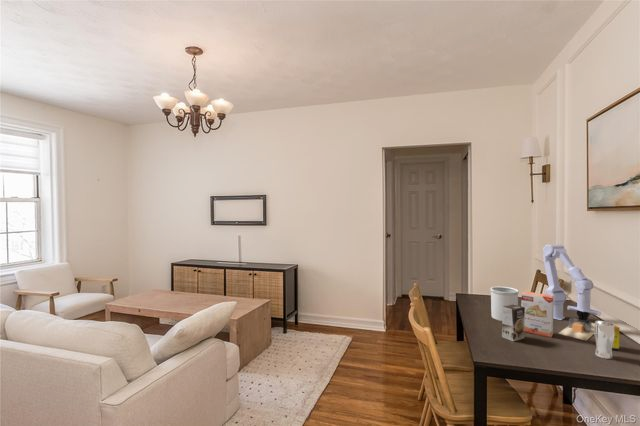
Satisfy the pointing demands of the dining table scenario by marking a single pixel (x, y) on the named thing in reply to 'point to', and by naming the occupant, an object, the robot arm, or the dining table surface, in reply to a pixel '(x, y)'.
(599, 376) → the dining table surface
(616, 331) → the supplement box
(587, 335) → the board
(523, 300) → the cracker box
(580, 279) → the robot arm
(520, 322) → the coffee box
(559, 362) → the dining table surface
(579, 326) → the plug
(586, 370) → the dining table surface
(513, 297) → the utensil holder
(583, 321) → the housing
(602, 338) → the beer glass
